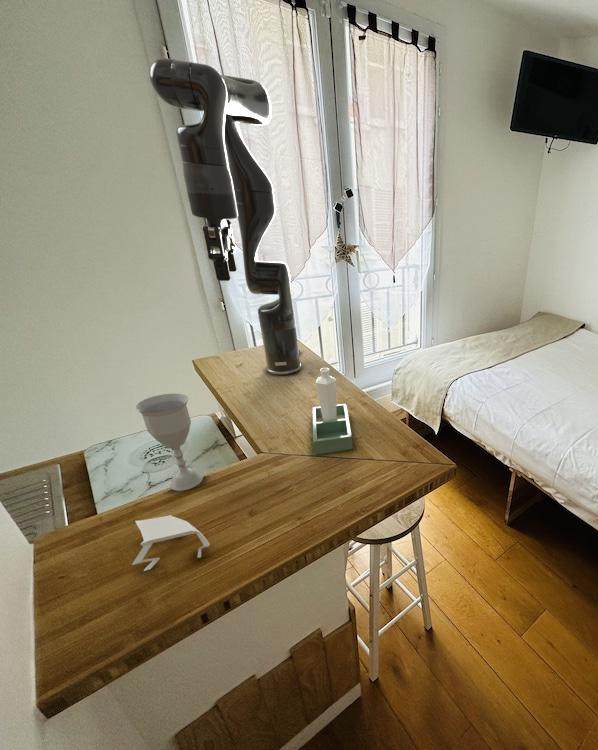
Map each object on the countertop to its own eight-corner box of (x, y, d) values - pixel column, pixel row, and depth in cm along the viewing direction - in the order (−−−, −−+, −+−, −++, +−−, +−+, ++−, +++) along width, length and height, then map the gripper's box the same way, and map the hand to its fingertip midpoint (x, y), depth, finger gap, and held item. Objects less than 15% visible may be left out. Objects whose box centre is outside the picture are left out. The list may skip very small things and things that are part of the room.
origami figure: (113, 578, 59) (102, 555, 57) (147, 533, 66) (139, 511, 64) (204, 570, 61) (196, 548, 59) (227, 528, 69) (221, 507, 67)
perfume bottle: (343, 419, 101) (338, 366, 94) (335, 428, 97) (329, 374, 90) (325, 417, 101) (320, 364, 95) (317, 426, 97) (310, 371, 91)
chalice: (159, 498, 73) (130, 415, 66) (166, 475, 79) (140, 396, 71) (207, 488, 77) (185, 408, 69) (211, 467, 82) (191, 391, 74)
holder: (313, 419, 101) (312, 407, 100) (347, 415, 104) (346, 403, 103) (314, 454, 89) (313, 441, 87) (352, 449, 92) (351, 436, 90)
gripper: (228, 194, 71) (244, 284, 78) (239, 190, 83) (252, 268, 90) (176, 190, 68) (198, 283, 75) (195, 186, 80) (212, 268, 87)
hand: (227, 275), depth 82 cm, fingers open, 8 cm apart
